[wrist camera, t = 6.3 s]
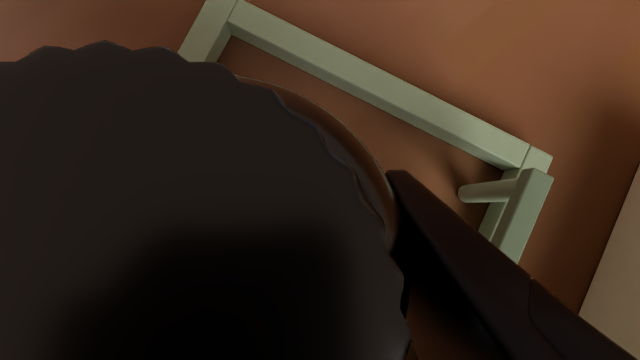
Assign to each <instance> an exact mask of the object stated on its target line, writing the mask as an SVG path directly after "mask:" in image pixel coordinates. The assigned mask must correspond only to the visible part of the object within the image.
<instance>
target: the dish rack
mask: <svg viewBox="0 0 640 360" xmlns="http://www.w3.org/2000/svg"><path fill="white" fill-rule="evenodd" d="M231 35H233V36H235V37H237V38H239V39H241V40H243V41H245V42H247V43H249V44H251V45H253V46H255V47H257V48H259V49H261V50H263V51H265V52H267V53H269V54H271V55H273V56H275V57H277V58H279V59H281V60H283V61H285V62H287V63H289V64H291V65H293V66H295V67H297V68H299V69H301V70H303V71H305V72H307V73H309V74H311V75H313V76H315V77H317V78H319V79H321V80H323V81H325V82H327V83H329V84H331V85H333V86H335V87H337V88H339V89H341V90H343V91H345V92H347V93H349V94H351V95H353V96H355V97H357V98H359V99H361V100H363V101H365V102H367V103H369V104H371V105H373V106H375V107H377V108H379V109H381V110H383V111H385V112H387V113H389V114H391V115H393V116H395V117H397V118H399V119H401V120H403V121H405V122H407V123H409V124H411V125H413V126H415V127H417V128H419V129H421V130H423V131H425V132H427V133H429V134H431V135H433V136H435V137H437V138H439V139H441V140H443V141H445V142H447V143H449V144H451V145H453V146H455V147H457V148H459V149H461V150H463V151H465V152H467V153H469V154H471V155H473V156H475V157H477V158H479V159H481V160H483V161H485V162H487V163H489V164H491V165H493V166H495V167H497V168H499V169H501V170H505V171H504V173H503V175H502V177H501V180H499V181H491V182H484V183H477V184H469V185H463V186H461V187H460V188H459V190H458V197H459V199H460V200H461V201H462V202H465V203H476V202H490V205H489V207H488V209H487V211H486V214H485V216H484V218H483V220H482V223H481V225H480V227H479V229H478V232H479V233H481V234H482V235H483V236H484V237H485V238H487V239H488V240H489V241H490V242H491V243H492V244H494V245H495V246H496V247H497V248H498V249H500V250H501V251H502V252H503V253H504V254H506V255H507V256H508V257H509V258H510V259H511V260H513V261H514V262H515V263H516V264H518V262H519V259H520V257H521V255H522V252H523V250H524V248H525V245H526V243H527V241H528V238H529V236H530V234H531V231H532V229H533V227H534V224H535V222H536V220H537V217H538V215H539V213H540V210H541V208H542V206H543V203H544V201H545V199H546V196H547V194H548V192H549V189H550V187H551V185H552V182H553V180H554V178H553V177H552V176H550V175H548V174H546V173H547V170H548V168H549V166H550V163H551V161H552V159H553V156H551V155H549V154H547V153H545V152H543V151H541V150H540V149H538V148H536V147H534V146H530V144H528V143H526V142H524V141H522V140H520V139H518V138H516V137H514V136H512V135H510V134H508V133H506V132H504V131H502V130H500V129H498V128H496V127H495V126H493V125H491V124H489V123H487V122H485V121H483V120H481V119H479V118H477V117H475V116H473V115H471V114H469V113H467V112H465V111H463V110H461V109H459V108H457V107H455V106H453V105H451V104H449V103H447V102H445V101H443V100H441V99H439V98H437V97H435V96H433V95H431V94H429V93H427V92H425V91H423V90H421V89H419V88H417V87H415V86H413V85H411V84H409V83H407V82H405V81H403V80H401V79H399V78H397V77H395V76H393V75H391V74H389V73H387V72H385V71H383V70H381V69H379V68H377V67H375V66H373V65H371V64H369V63H367V62H365V61H363V60H361V59H359V58H357V57H355V56H353V55H351V54H349V53H347V52H345V51H344V50H342V49H340V48H338V47H336V46H334V45H332V44H330V43H328V42H326V41H324V40H322V39H320V38H318V37H316V36H314V35H312V34H310V33H308V32H306V31H304V30H302V29H300V28H298V27H296V26H294V25H292V24H290V23H288V22H286V21H284V20H282V19H280V18H278V17H276V16H274V15H272V14H270V13H268V12H266V11H264V10H262V9H260V8H258V7H256V6H254V5H252V4H250V3H248V2H246V1H244V0H206V1H205V3H204V5H203V7H202V9H201V11H200V12H199V14H198V16H197V18H196V20H195V22H194V23H193V25H192V27H191V29H190V31H189V33H188V34H187V36H186V38H185V40H184V42H183V44H182V45H181V47H180V49H179V51H178V54H179V55H181V56H183V57H184V58H185V59H186V60H187V61H189V62H214V63H217V61H218V59H219V57H220V55H221V53H222V52H223V50H224V48H225V46H226V44H227V42H228V40H229V38H230V37H231ZM406 322H407V321H406Z"/></svg>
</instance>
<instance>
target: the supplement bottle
mask: <svg viewBox="0 0 640 360" xmlns="http://www.w3.org/2000/svg"><path fill="white" fill-rule="evenodd" d="M410 287H411V264H410V253H409V244H408V239H407V233H406V228H405V224H404V221H403V217H402V214H401V210H400V207H399V205H398V202H397V200H396V197H395V195H394V192H393V190H392V188H391V186H390V184H389V182H388V180H387V178H386V176H385V174H384V172H383V171H382V169H381V168H380V166H379V165H378V163H377V161H376V160H375V158H374V157H373V156H372V154H371V153H370V152H369V151H368V149H367V148H366V147H365V145H364V144H363V143H362V142H361V141H360V140H359V139H358V138H357V137H356V135H355V134H354V133H353V132H352V131H351V130H350V129H349V128H348V127H346V126H345V125H344V124H343V123H342V122H341V121H340V120H338V119H337V118H336V117H335V116H333V115H332V114H331V113H329V112H328V111H326V110H325V109H324V108H322V107H321V106H319V105H318V104H316V103H314V102H312V101H311V100H309V99H307V98H306V97H304V96H302V95H300V94H297V93H295V92H293V91H291V90H289V89H286V88H284V87H281V86H278V85H275V84H272V83H269V82H266V81H262V80H258V79H253V78H249V77H242V76H236V75H235V74H234V73H233V72H232V71H231V70H230V69H228V68H227V67H226V66H225V65H223V64H222V63H214V62H189V61H187V60H186V59H185V58H184V57H183V56H181V55H179V54H178V53H176V52H174V51H172V50H171V49H169V48H167V47H165V46H164V47H151V48H145V49H139V50H134V51H132V50H129V49H127V48H125V47H124V46H122V45H119V44H116V43H113V42H110V41H107V40H103V41H100V42H96V43H92V44H89V45H87V46H84V47H81V48H79V49H76V50H71V49H66V48H62V47H53V46H43V47H41V48H39V49H37V50H35V51H33V52H31V53H29V54H28V55H27V56H26V57H24V58H22V59H20V60H18V61H16V62H0V360H404V359H405V357H406V355H407V353H408V350H409V346H410V342H411V339H412V335H411V332H410V329H409V327H408V324H407V322H406V316H407V311H408V306H409V296H410Z"/></svg>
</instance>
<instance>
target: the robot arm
mask: <svg viewBox="0 0 640 360" xmlns="http://www.w3.org/2000/svg"><path fill="white" fill-rule="evenodd" d="M385 176H386V178H387V180H388V182H389V184H390V186H391V188H392V190H393V192H394V195H395V197H396V200H397V202H398V205H399V207H400V210H401V214H402V217H403V221H404V224H405V228H406V233H407V239H408V244H409V253H410V264H411V287H410V296H409V306H408V311H407V316H406V321H407V324H408V327H409V329H410V332H411V335H412V341H413V345H414V348H415V351H416V355H417V358H418V360H639V359H637V358H636V357H634V356H633V355H632V354H630V353H629V352H627V351H626V350H625V349H623V348H622V347H621V346H619V345H618V344H616V343H615V342H614V341H612V340H611V339H610V338H608V337H607V336H606V335H604V334H603V333H602V332H600V331H599V330H598V329H596V328H595V327H594V326H592V325H591V324H590V323H588V322H587V321H586V320H584V319H583V318H582V317H580V316H579V315H578V314H577V313H575V312H574V311H573V310H572V309H570V308H569V307H568V306H567V305H565V304H564V303H563V302H562V301H561V300H559V299H558V298H557V297H556V296H554V295H553V294H552V293H551V292H550V291H548V290H547V289H546V288H545V287H544V286H542V285H541V284H540V283H539V282H538V281H536V280H535V279H531V276H530V275H529V274H528V273H527V272H526V271H524V270H523V269H522V268H521V267H520V266H519V265H517V264H516V263H515V262H514V261H513V260H511V259H510V258H509V257H508V256H507V255H506V254H504V253H503V252H502V251H501V250H500V249H498V248H497V247H496V246H495V245H494V244H492V243H491V242H490V241H489V240H488V239H487V238H485V237H484V236H483V235H482V234H481V233H479V232H478V231H477V230H476V229H475V228H474V227H472V226H471V225H470V224H469V223H468V222H466V221H465V220H464V219H463V218H462V217H461V216H459V215H458V214H457V213H456V212H455V211H453V210H452V209H451V208H450V207H449V206H448V205H446V204H445V203H444V202H443V201H442V200H440V199H439V198H438V197H437V196H436V195H435V194H433V193H432V192H431V191H430V190H429V189H427V188H426V187H425V186H424V185H423V184H422V183H420V182H419V181H418V180H417V179H416V178H414V177H413V176H412V175H411V174H410V173H409V172H407V171H406V170H388V171H387V172H386V173H385Z"/></svg>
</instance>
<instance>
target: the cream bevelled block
mask: <svg viewBox="0 0 640 360" xmlns="http://www.w3.org/2000/svg"><path fill="white" fill-rule="evenodd" d="M578 315H579V316H580V317H582V318H583V319H584V320H586V321H587V322H588V323H590V324H591V325H592V326H594V327H595V328H596V329H598V330H599V331H600V332H602V333H603V334H604V335H606V336H607V337H608V338H610V339H611V340H612V341H614V342H615V343H616V344H618V345H619V346H621V347H622V348H623V349H625V350H626V351H627V352H629V353H630V354H632V355H633V356H634V357H636V358H637V359H639V360H640V165H639V167H638V170H637V172H636V174H635V177H634V179H633V182H632V184H631V187H630V189H629V192H628V194H627V196H626V199H625V201H624V204H623V206H622V209H621V211H620V214H619V216H618V219H617V221H616V223H615V226H614V228H613V231H612V233H611V236H610V238H609V241H608V243H607V246H606V248H605V250H604V253H603V255H602V258H601V260H600V263H599V265H598V268H597V270H596V272H595V275H594V277H593V280H592V282H591V285H590V287H589V290H588V292H587V295H586V297H585V299H584V302H583V304H582V307H581V309H580V312H579V314H578Z"/></svg>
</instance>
